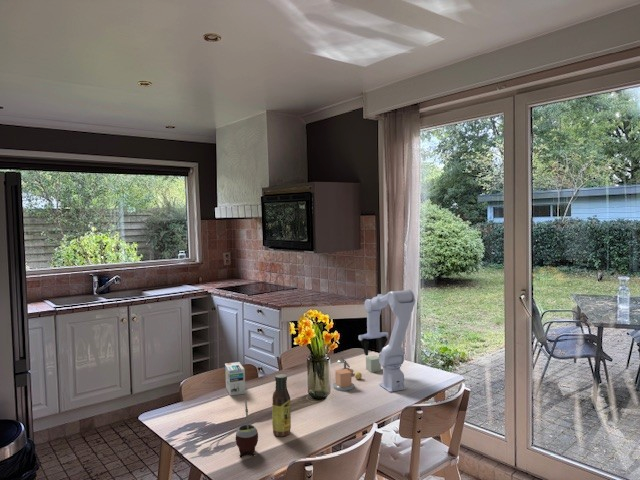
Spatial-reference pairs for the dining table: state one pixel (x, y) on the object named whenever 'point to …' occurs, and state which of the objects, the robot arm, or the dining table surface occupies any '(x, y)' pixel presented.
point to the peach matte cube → (343, 378)
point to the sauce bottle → (281, 407)
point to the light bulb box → (235, 378)
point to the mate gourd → (246, 437)
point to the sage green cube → (373, 364)
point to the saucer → (343, 387)
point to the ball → (358, 375)
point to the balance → (344, 364)
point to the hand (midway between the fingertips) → (373, 353)
